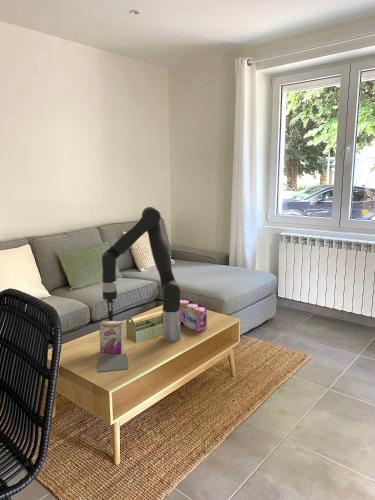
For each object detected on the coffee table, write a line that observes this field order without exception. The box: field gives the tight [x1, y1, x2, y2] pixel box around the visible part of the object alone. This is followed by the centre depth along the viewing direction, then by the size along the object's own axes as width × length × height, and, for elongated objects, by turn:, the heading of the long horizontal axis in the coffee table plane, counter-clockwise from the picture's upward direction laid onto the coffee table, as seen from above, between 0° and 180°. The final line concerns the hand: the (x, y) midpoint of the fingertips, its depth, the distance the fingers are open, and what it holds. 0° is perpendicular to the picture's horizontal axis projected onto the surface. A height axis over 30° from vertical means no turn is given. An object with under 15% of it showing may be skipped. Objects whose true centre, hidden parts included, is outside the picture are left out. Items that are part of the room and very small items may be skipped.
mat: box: [97, 352, 129, 373], centre depth 192 cm, size 14×16×1 cm
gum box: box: [179, 297, 208, 333], centre depth 237 cm, size 24×8×14 cm, turn 37°
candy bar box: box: [99, 320, 124, 355], centre depth 202 cm, size 11×5×16 cm, turn 86°
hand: (110, 320), depth 209 cm, fingers closed
